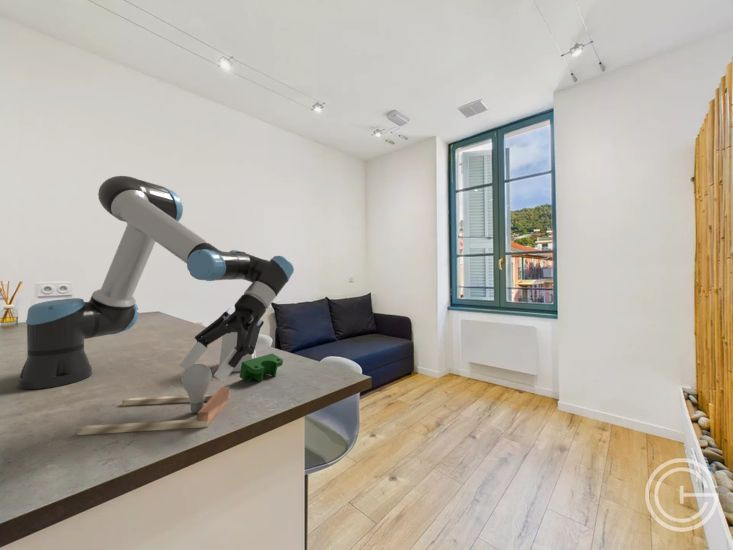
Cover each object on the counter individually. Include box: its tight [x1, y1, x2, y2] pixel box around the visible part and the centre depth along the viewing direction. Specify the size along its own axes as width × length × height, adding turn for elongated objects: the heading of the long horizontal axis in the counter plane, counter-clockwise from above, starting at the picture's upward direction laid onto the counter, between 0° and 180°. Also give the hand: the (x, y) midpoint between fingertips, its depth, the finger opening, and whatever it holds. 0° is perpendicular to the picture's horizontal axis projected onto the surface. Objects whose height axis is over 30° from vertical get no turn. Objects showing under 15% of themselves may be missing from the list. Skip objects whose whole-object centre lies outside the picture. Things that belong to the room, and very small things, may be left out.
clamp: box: [239, 353, 284, 383], centre depth 92 cm, size 12×6×9 cm, turn 142°
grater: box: [218, 306, 257, 373], centre depth 102 cm, size 10×10×20 cm
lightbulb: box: [180, 363, 213, 414], centre depth 69 cm, size 6×6×11 cm
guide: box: [77, 386, 230, 436], centre depth 68 cm, size 24×14×3 cm, turn 98°
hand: (200, 373), depth 69 cm, fingers open, 13 cm apart
